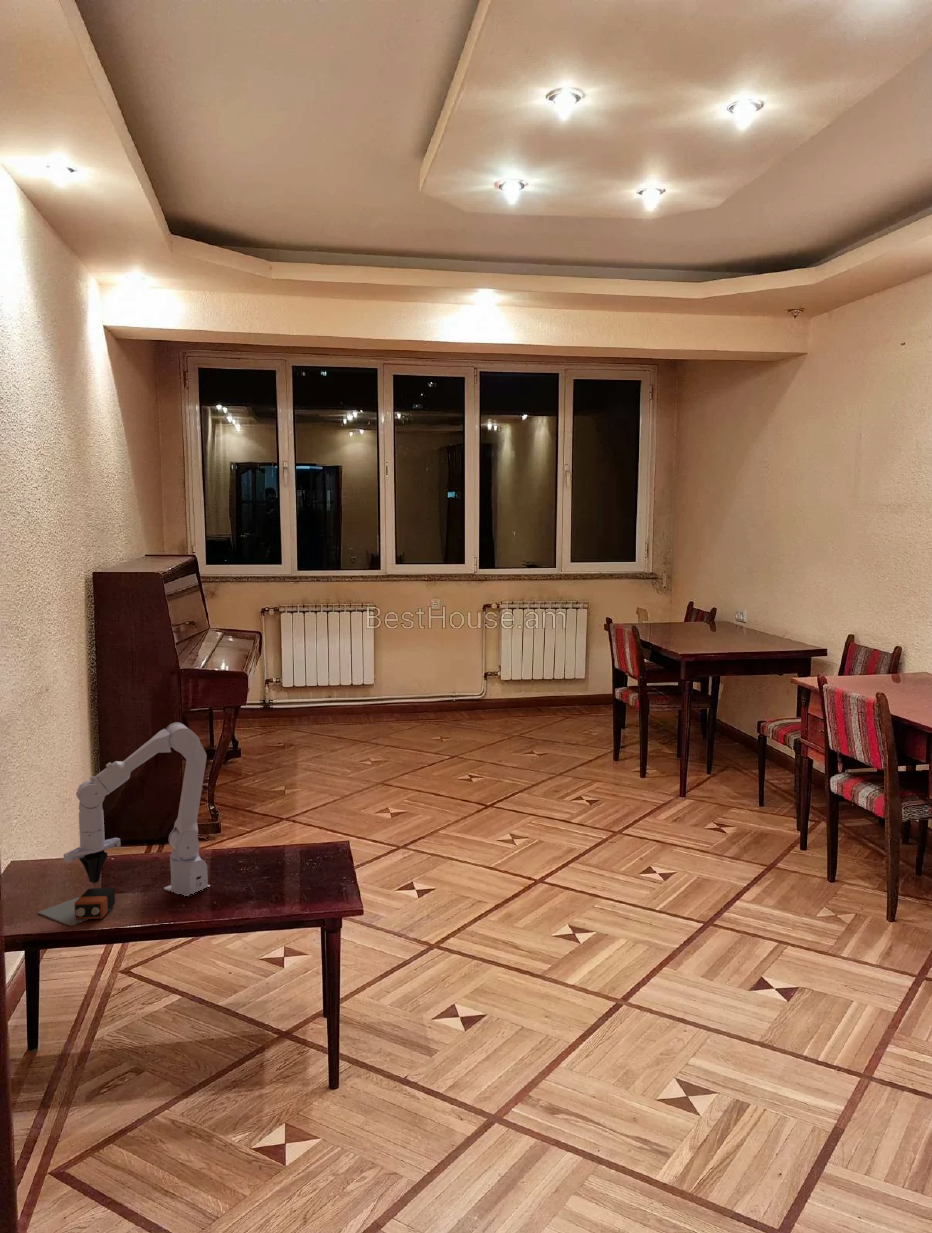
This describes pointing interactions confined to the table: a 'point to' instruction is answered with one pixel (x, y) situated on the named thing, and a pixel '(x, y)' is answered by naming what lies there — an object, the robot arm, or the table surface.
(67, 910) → the mat
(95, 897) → the battery
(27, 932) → the table surface
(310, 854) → the table surface
